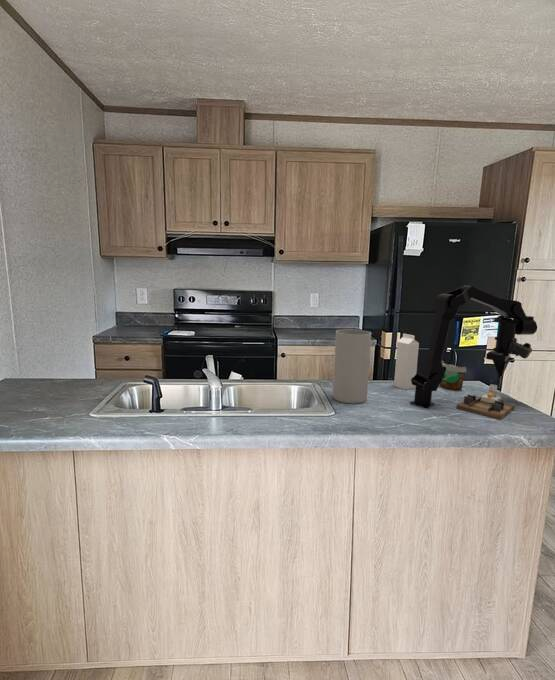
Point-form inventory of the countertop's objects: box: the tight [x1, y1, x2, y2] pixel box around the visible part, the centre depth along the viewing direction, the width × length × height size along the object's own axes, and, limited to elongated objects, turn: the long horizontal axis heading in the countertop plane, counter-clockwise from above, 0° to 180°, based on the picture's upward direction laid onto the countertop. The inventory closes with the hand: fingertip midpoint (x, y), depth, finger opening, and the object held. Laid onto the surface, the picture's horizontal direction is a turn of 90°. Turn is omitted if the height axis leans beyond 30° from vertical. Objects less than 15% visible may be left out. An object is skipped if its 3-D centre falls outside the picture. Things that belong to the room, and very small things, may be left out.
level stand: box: [456, 394, 516, 420], centre depth 139 cm, size 16×14×4 cm
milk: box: [393, 333, 420, 390], centre depth 161 cm, size 6×6×22 cm
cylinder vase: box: [332, 328, 372, 405], centre depth 144 cm, size 12×12×25 cm
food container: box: [439, 360, 467, 391], centre depth 163 cm, size 12×6×10 cm, turn 25°
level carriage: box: [480, 383, 502, 403], centre depth 142 cm, size 5×5×6 cm
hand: (500, 376), depth 147 cm, fingers closed
